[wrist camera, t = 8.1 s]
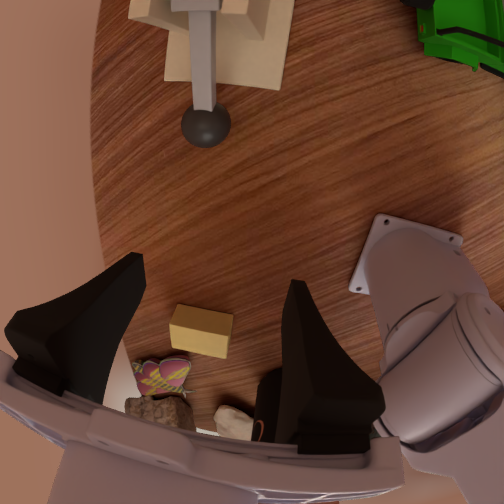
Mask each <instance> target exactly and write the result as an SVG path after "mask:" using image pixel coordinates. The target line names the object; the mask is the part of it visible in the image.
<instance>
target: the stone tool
mask: <svg viewBox="0 0 504 504" xmlns="http://www.w3.org/2000/svg"><path fill="white" fill-rule="evenodd" d="M214 420H215V421H216V428H217V433H218V434H219V436H220V437H226V438H232V439H239V440H247V441H251V435H252V428H253V420H254V419H253V418H251V417H249V416H248V415H247V414H245V413H244V412H243V411H240V410H238V409H236V408H234V407H231V406H228V405H221V406H219V407H218V410H217V411H216V413H215V415H214Z"/></svg>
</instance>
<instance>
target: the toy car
mask: <svg viewBox="0 0 504 504" xmlns="http://www.w3.org/2000/svg"><path fill="white" fill-rule="evenodd" d="M400 2H402V3H403V4H404V5H407V6H411V7H415V8H416V9H417V25H418V41H420V42H423V43H424V55H427V56H434V57H436V58H439V59H442V60H446V61H450V62H454V63H460V64H466V65H469V66H472V71H474V72H475V71H476V70H477V69H478V62H480V67H481V68H482V69H484V70H486V71H488V72H491V73H493V74H495V75H497V76H499V77H502V78H504V0H400Z"/></svg>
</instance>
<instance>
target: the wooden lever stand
mask: <svg viewBox="0 0 504 504" xmlns="http://www.w3.org/2000/svg"><path fill="white" fill-rule="evenodd" d="M294 2H295V0H223V2H222V8H221V9H220V10H219V11H216V83H222V84H233V85H242V86H251V87H258V88H266V89H272V90H280V89H281V83H282V77H283V70H284V64H285V58H286V52H287V46H288V39H289V33H290V27H291V21H292V15H293V8H294ZM128 19H132V20H136V21H140V22H143V23H147V24H151V25H154V26H157V27H161V28H164V29H167V30H169V37H168V45H167V54H166V63H165V73H164V81H188V82H192V77H191V60H190V40H189V14H188V11H178V12H172V11H171V0H131V2H130V8H129V14H128Z"/></svg>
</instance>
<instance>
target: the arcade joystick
mask: <svg viewBox="0 0 504 504" xmlns="http://www.w3.org/2000/svg"><path fill="white" fill-rule="evenodd" d="M222 2H223V0H171V11H172V12H178V11H188V14H189V40H190V60H191V77H192V92H193V104H192V105H191V106H190V107H189V108H188V109H187V110H186V111H185V113H184V115H183V117H182V121H181V129H182V133H183V135H184V137H185V138H186V140H187V141H188V142H189V143H191V144H192V145H194V146H196V147H200V148H210V147H214V146H216V145H218V144H220V143H221V142H222V141H224V140H225V138H226V137H227V136H228V134H229V132H230V128H231V119H230V115H229V113H228V111H227V110H226V108H225V107H224V106H222V105H221V104H219V103H217V102H216V11H219V10H220V9H221V8H222Z"/></svg>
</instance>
